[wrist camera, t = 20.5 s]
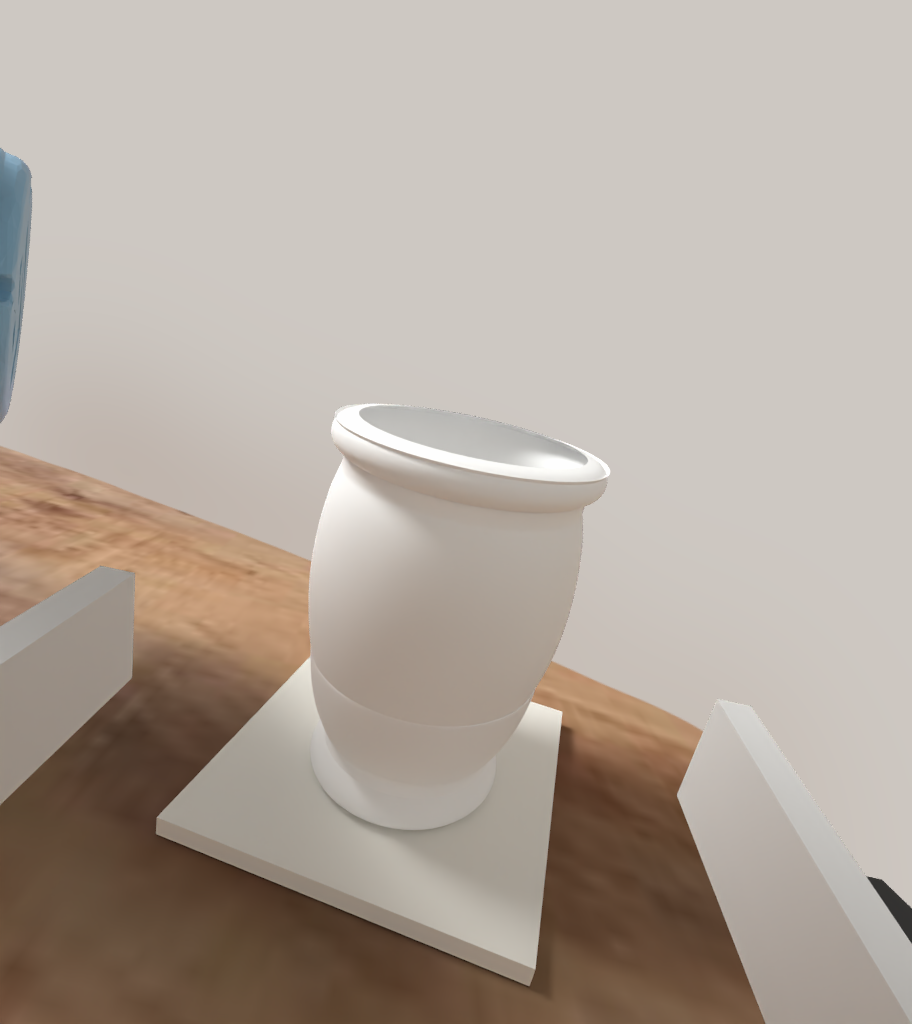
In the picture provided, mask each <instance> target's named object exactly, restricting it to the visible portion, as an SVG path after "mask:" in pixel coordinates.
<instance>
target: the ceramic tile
mask: <svg viewBox="0 0 912 1024" xmlns="http://www.w3.org/2000/svg"><path fill="white" fill-rule="evenodd" d="M319 719H320V717H319V714H318V711H317V707H316V704H315V699H314V694H313V688H312V680H311V656H310V657H309V658H308V659H307V660H306V661H305V662H304V663H303V664H302V666H301V667H300V668H299V669H298V670H297V671H296V672H295V673H294V674H293V675H292V676H291V677H290V678H289V679H288V680H287V681H286V682H285V683H284V684H283V685H282V686H281V688H280V689H279V690H278V691H277V692H276V693H275V694H274V695H273V696H272V697H271V698H270V699H269V700H268V701H267V702H266V703H265V704H264V705H263V706H262V707H261V708H260V710H259V711H258V712H257V713H256V714H255V715H254V716H253V717H252V718H251V719H250V720H249V721H248V722H247V723H246V724H245V725H244V726H243V727H242V728H241V729H240V730H239V732H238V733H237V734H236V735H235V736H234V737H233V738H232V739H231V740H230V741H229V742H228V743H227V744H226V745H225V746H224V747H223V748H222V749H221V750H220V751H219V752H218V754H217V755H216V756H215V757H214V758H213V759H212V760H211V761H210V762H209V763H208V764H207V765H206V766H205V767H204V768H203V769H202V770H201V771H200V772H199V773H198V774H197V776H196V777H195V778H194V779H193V780H192V781H191V782H190V783H189V784H188V785H187V786H186V787H185V788H184V789H183V790H182V791H181V792H180V793H179V794H178V795H177V796H176V798H175V799H174V800H173V801H172V802H171V803H170V804H169V805H168V806H167V807H166V808H165V809H164V810H163V811H162V812H161V813H160V814H159V815H158V816H157V821H156V834H157V835H159V836H162V837H164V838H167V839H169V840H172V841H174V842H177V843H179V844H182V845H184V846H186V847H189V848H191V849H194V850H196V851H199V852H201V853H204V854H206V855H208V856H211V857H213V858H216V859H218V860H221V861H223V862H226V863H228V864H231V865H233V866H235V867H238V868H240V869H243V870H245V871H248V872H250V873H253V874H255V875H258V876H260V877H262V878H265V879H267V880H270V881H272V882H275V883H277V884H280V885H282V886H284V887H287V888H289V889H292V890H294V891H297V892H299V893H302V894H304V895H307V896H309V897H311V898H314V899H316V900H319V901H321V902H324V903H326V904H329V905H331V906H334V907H336V908H338V909H341V910H343V911H346V912H348V913H351V914H353V915H356V916H358V917H361V918H363V919H365V920H368V921H370V922H373V923H375V924H378V925H380V926H383V927H385V928H387V929H390V930H392V931H395V932H397V933H400V934H402V935H405V936H407V937H410V938H412V939H414V940H417V941H419V942H422V943H424V944H427V945H429V946H432V947H434V948H437V949H439V950H441V951H444V952H446V953H449V954H451V955H454V956H456V957H459V958H461V959H463V960H466V961H468V962H471V963H473V964H476V965H478V966H481V967H483V968H486V969H488V970H490V971H493V972H495V973H498V974H500V975H503V976H505V977H508V978H510V979H513V980H515V981H517V982H520V983H522V984H525V985H527V986H530V984H531V981H532V978H533V975H534V972H535V969H536V959H537V950H538V940H539V931H540V921H541V911H542V902H543V892H544V883H545V873H546V864H547V854H548V844H549V835H550V825H551V816H552V806H553V796H554V787H555V777H556V768H557V758H558V748H559V739H560V729H561V720H562V712H561V711H558V710H555V709H552V708H549V707H546V706H543V705H540V704H537V703H534V702H530V704H529V706H528V708H527V710H526V712H525V714H524V716H523V718H522V720H521V722H520V723H519V725H518V727H517V728H516V730H515V732H514V733H513V735H512V736H511V737H510V739H509V740H508V741H507V743H506V744H505V745H504V746H503V748H502V749H501V750H500V751H499V752H498V753H497V754H496V755H495V756H496V773H495V778H494V782H493V785H492V787H491V790H490V792H489V793H488V795H487V796H486V798H485V799H484V801H483V802H482V803H481V804H480V805H479V806H478V807H477V808H476V809H475V810H474V811H472V812H471V813H470V814H468V815H467V816H465V817H464V818H462V819H460V820H458V821H456V822H454V823H451V824H448V825H445V826H441V827H437V828H433V829H425V830H402V829H393V828H388V827H384V826H380V825H376V824H373V823H370V822H368V821H365V820H363V819H361V818H359V817H357V816H355V815H353V814H351V813H350V812H348V811H347V810H345V809H344V808H343V807H341V806H340V805H339V804H337V803H336V802H335V801H334V800H333V799H332V798H331V797H330V796H329V795H328V794H327V792H326V791H325V790H324V789H323V787H322V786H321V784H320V783H319V781H318V779H317V777H316V775H315V773H314V770H313V767H312V763H311V756H310V745H311V739H312V735H313V732H314V729H315V727H316V725H317V723H318V721H319Z"/></svg>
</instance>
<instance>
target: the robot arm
mask: <svg viewBox="0 0 912 1024" xmlns="http://www.w3.org/2000/svg"><path fill="white" fill-rule="evenodd" d="M31 178H32V177H31V173H30V170H29V168H28V166H27V165H26V164H25V163H24V162H23V161H22V160H21V159H19V158H18V157H16V156H13V155H11V154H9V153H6V152H4V151H3V150H2V149H1V148H0V423H1V422H2V421H3V419H4V418H5V416H6V414H7V412H8V409H9V405H10V401H11V396H12V390H13V385H14V379H15V372H16V365H17V357H18V350H19V342H20V334H21V326H22V316H23V307H24V298H25V287H26V276H27V266H28V255H29V243H30V229H31V213H32V212H31V211H32V189H31ZM134 592H135V573H132V572H127V571H123V570H118V569H114V568H109V567H104V566H100V567H98V568H97V569H95V570H93V571H92V572H90V573H88V574H87V575H85V576H83V577H82V578H80V579H78V580H77V581H75V582H73V583H72V584H70V585H68V586H67V587H65V588H63V589H62V590H60V591H58V592H57V593H55V594H53V595H52V596H50V597H48V598H47V599H45V600H44V601H42V602H40V603H39V604H37V605H35V606H34V607H32V608H30V609H29V610H27V611H25V612H24V613H22V614H20V615H19V616H17V617H15V618H14V619H12V620H10V621H9V622H7V623H5V624H4V625H2V626H0V805H1V804H2V803H3V802H4V801H5V800H6V799H7V798H8V797H9V796H10V795H11V794H12V793H13V792H14V791H15V790H16V789H17V788H18V787H19V786H20V785H21V784H22V783H23V782H25V781H26V780H27V779H28V778H29V777H30V776H31V775H32V774H33V773H34V772H35V771H36V770H37V769H38V768H39V767H40V766H41V765H42V764H43V763H44V762H45V761H46V760H47V759H48V758H49V757H50V756H52V755H53V754H54V753H55V752H56V751H57V750H58V749H59V748H60V747H61V746H62V745H63V744H64V743H65V742H66V741H67V740H68V739H69V738H70V737H71V736H72V735H73V734H74V733H75V732H76V731H78V730H79V729H80V728H81V727H82V726H83V725H84V724H85V723H86V722H87V721H88V720H89V719H90V718H91V717H92V716H93V715H94V714H95V713H96V712H97V711H98V710H99V709H100V708H101V707H102V706H103V705H105V704H106V703H107V702H108V701H109V700H110V699H111V698H112V697H113V696H114V695H115V694H116V693H117V692H118V691H119V690H120V689H121V688H122V687H123V686H124V685H125V684H126V683H127V682H128V681H129V680H131V679H132V666H133V629H134ZM677 797H678V800H679V802H680V805H681V807H682V810H683V812H684V815H685V818H686V820H687V823H688V825H689V828H690V830H691V833H692V836H693V838H694V841H695V843H696V846H697V849H698V851H699V854H700V856H701V859H702V861H703V864H704V867H705V869H706V872H707V874H708V877H709V879H710V882H711V885H712V887H713V890H714V892H715V895H716V898H717V900H718V903H719V905H720V908H721V910H722V913H723V916H724V918H725V921H726V923H727V926H728V928H729V931H730V934H731V936H732V939H733V941H734V944H735V946H736V949H737V952H738V954H739V957H740V959H741V962H742V965H743V967H744V970H745V972H746V975H747V977H748V980H749V983H750V985H751V988H752V990H753V993H754V995H755V998H756V1001H757V1003H758V1006H759V1008H760V1011H761V1014H762V1016H763V1019H764V1021H765V1024H912V908H910V906H909V905H907V904H906V903H905V902H904V901H903V900H902V899H901V898H900V897H899V896H898V895H897V894H896V893H895V892H894V891H893V890H892V889H891V888H890V887H889V886H888V885H887V884H886V883H885V882H884V881H882V880H880V879H876V878H872V877H867V876H866V875H865V874H864V873H863V871H862V869H861V868H860V867H859V865H858V864H857V862H856V861H855V859H854V858H853V856H852V855H851V853H850V852H849V850H848V849H847V848H846V846H845V844H844V843H843V841H842V840H841V838H840V837H839V835H838V834H837V832H836V831H835V829H834V828H833V827H832V825H831V824H830V822H829V821H828V819H827V818H826V816H825V815H824V813H823V812H822V810H821V809H820V807H819V806H818V804H817V803H816V802H815V800H814V798H813V797H812V795H811V794H810V793H809V791H808V790H807V788H806V787H805V785H804V784H803V782H802V781H801V779H800V778H799V776H798V775H797V773H796V772H795V770H794V769H793V767H792V766H791V764H790V763H789V762H788V760H787V759H786V757H785V756H784V754H783V753H782V751H781V750H780V748H779V747H778V745H777V744H776V742H775V741H774V739H773V738H772V736H771V735H770V733H769V732H768V730H767V729H766V728H765V726H764V725H763V723H762V722H761V720H760V719H759V717H758V716H757V714H756V713H755V711H754V710H753V708H752V707H751V706H749V705H745V704H740V703H735V702H730V701H726V700H721V699H717V700H716V702H715V705H714V707H713V709H712V712H711V714H710V717H709V719H708V721H707V724H706V726H705V729H704V731H703V733H702V736H701V738H700V741H699V743H698V745H697V748H696V750H695V753H694V755H693V758H692V760H691V762H690V765H689V767H688V770H687V772H686V774H685V777H684V779H683V782H682V784H681V786H680V789H679V791H678V794H677Z"/></svg>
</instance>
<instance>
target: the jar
mask: <svg viewBox="0 0 912 1024" xmlns="http://www.w3.org/2000/svg"><path fill="white" fill-rule="evenodd" d="M334 415H335V419H334V421H333V423H332V428H331V435H332V439H333V441H334V443H335V445H336V447H337V448H338V449H339V451H340V452H341V453H342V454H343V460H342V463H341V465H340V467H339V469H338V471H337V473H336V475H335V477H334V479H333V482H332V484H331V487H330V489H329V492H328V495H327V498H326V501H325V504H324V508H323V511H322V514H321V518H320V522H319V526H318V530H317V534H316V539H315V543H314V549H313V555H312V561H311V569H310V580H309V632H310V643H311V680H312V688H313V694H314V699H315V704H316V707H317V711H318V714H319V717H320V719H319V721H318V723H317V725H316V727H315V729H314V732H313V735H312V739H311V745H310V756H311V763H312V767H313V770H314V773H315V775H316V777H317V779H318V781H319V783H320V784H321V786H322V787H323V789H324V790H325V791H326V792H327V794H328V795H329V796H330V797H331V798H332V799H333V800H334V801H335V802H336V803H337V804H339V805H340V806H341V807H343V808H344V809H345V810H347V811H348V812H350V813H351V814H353V815H355V816H357V817H359V818H361V819H363V820H365V821H368V822H370V823H373V824H376V825H380V826H384V827H388V828H393V829H402V830H425V829H433V828H437V827H441V826H445V825H448V824H451V823H454V822H456V821H458V820H460V819H462V818H464V817H465V816H467V815H468V814H470V813H471V812H472V811H474V810H475V809H476V808H477V807H478V806H479V805H480V804H481V803H482V802H483V801H484V799H485V798H486V796H487V795H488V793H489V792H490V790H491V787H492V785H493V782H494V778H495V773H496V756H495V755H496V754H497V753H498V752H499V751H500V750H501V749H502V748H503V746H504V745H505V744H506V743H507V741H508V740H509V739H510V737H511V736H512V735H513V733H514V732H515V730H516V728H517V727H518V725H519V723H520V722H521V720H522V718H523V716H524V714H525V712H526V710H527V708H528V706H529V704H530V702H531V699H532V697H533V694H534V691H535V688H536V687H537V685H538V683H539V682H540V680H541V679H542V677H543V675H544V673H545V672H546V670H547V668H548V666H549V664H550V662H551V660H552V658H553V656H554V654H555V651H556V649H557V647H558V644H559V642H560V640H561V637H562V634H563V632H564V629H565V626H566V623H567V620H568V616H569V613H570V609H571V606H572V602H573V598H574V594H575V589H576V584H577V579H578V573H579V567H580V560H581V552H582V541H583V518H582V513H583V510H584V507H585V506H587V505H590V504H591V503H593V502H595V501H596V500H598V499H599V498H600V497H601V496H602V494H603V493H604V491H605V488H606V486H607V476H608V475H609V474H610V469H609V467H608V466H607V465H606V464H605V463H604V462H603V461H601V460H600V459H598V458H597V457H595V456H593V455H591V454H590V453H588V452H586V451H584V450H582V449H579V448H577V447H575V446H572V445H570V444H567V443H565V442H562V441H559V440H557V439H554V438H551V437H548V436H545V435H542V434H539V433H536V432H533V431H530V430H527V429H523V428H520V427H516V426H513V425H509V424H505V423H501V422H498V421H493V420H489V419H485V418H480V417H476V416H471V415H466V414H461V413H456V412H450V411H444V410H437V409H431V408H423V407H415V406H404V405H390V404H356V405H348V406H344V407H341V408H339V409H337V410H336V411H335V414H334Z"/></svg>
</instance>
